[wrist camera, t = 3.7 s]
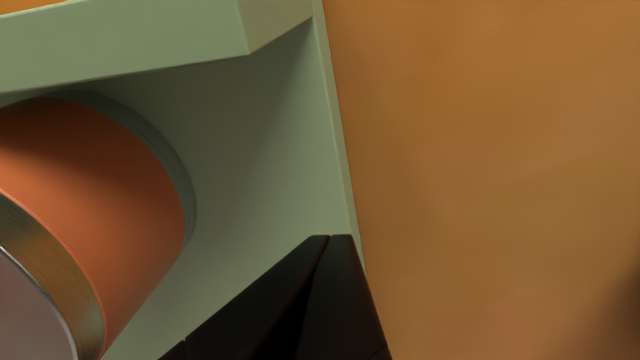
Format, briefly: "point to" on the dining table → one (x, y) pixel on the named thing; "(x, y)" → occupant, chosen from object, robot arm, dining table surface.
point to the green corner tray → (206, 130)
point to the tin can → (83, 222)
